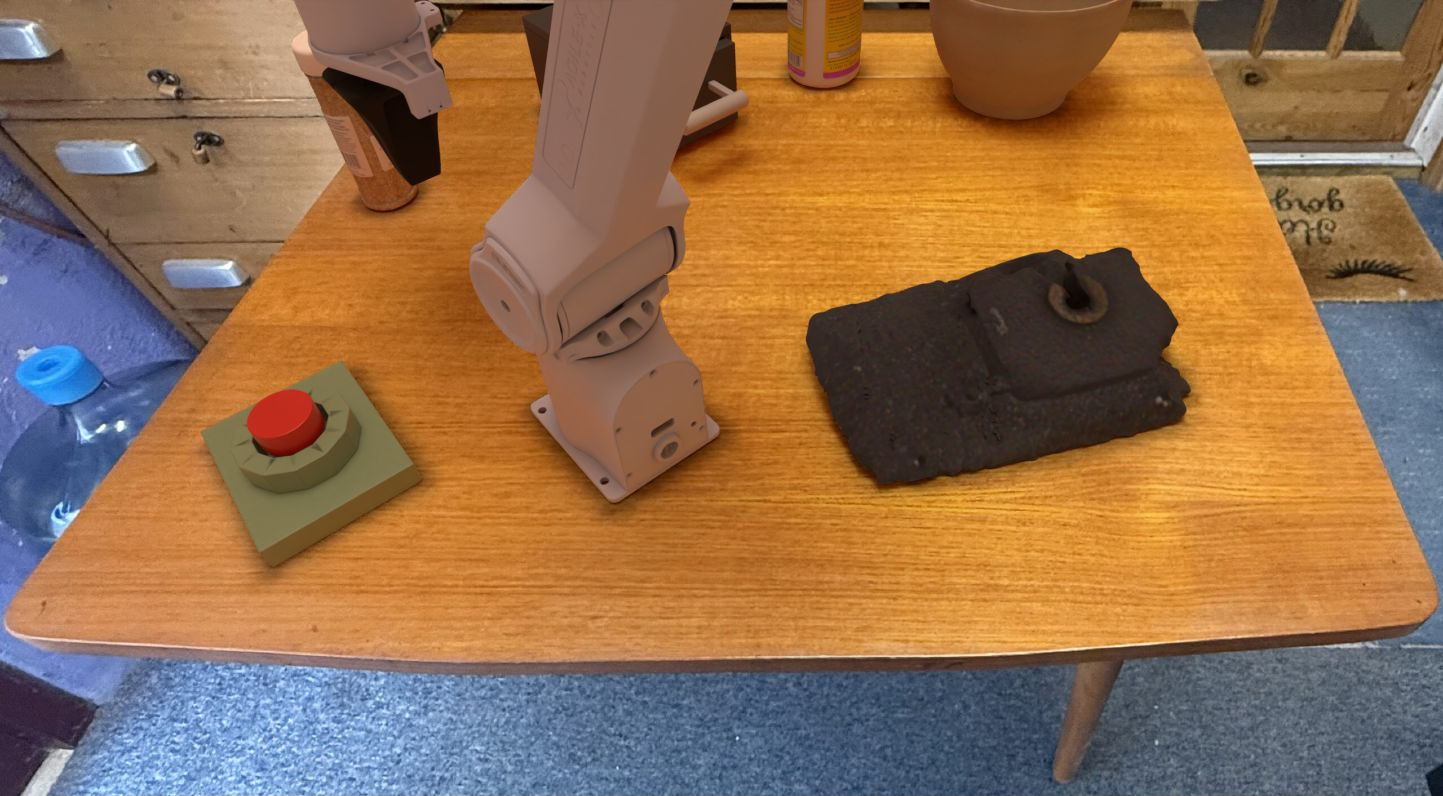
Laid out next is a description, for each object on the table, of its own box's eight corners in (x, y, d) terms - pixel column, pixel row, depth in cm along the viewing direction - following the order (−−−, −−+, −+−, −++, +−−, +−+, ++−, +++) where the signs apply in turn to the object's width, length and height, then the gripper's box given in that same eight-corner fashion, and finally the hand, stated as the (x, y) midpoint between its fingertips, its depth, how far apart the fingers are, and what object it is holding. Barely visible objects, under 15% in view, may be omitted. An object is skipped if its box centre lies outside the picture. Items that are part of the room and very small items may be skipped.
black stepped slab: (782, 321, 56) (782, 267, 52) (1079, 256, 59) (1098, 200, 55) (863, 504, 46) (870, 452, 43) (1216, 415, 49) (1250, 359, 45)
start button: (334, 434, 48) (322, 415, 46) (273, 467, 46) (258, 448, 45) (312, 398, 49) (299, 379, 48) (252, 429, 48) (237, 410, 47)
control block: (423, 480, 49) (402, 444, 46) (273, 568, 45) (241, 534, 43) (351, 377, 55) (329, 339, 52) (214, 448, 51) (183, 412, 49)
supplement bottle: (868, 61, 78) (880, -87, 69) (846, 96, 75) (855, -56, 65) (801, 51, 80) (804, -95, 71) (776, 84, 77) (775, -65, 67)
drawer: (770, 139, 69) (769, 60, 64) (670, 190, 65) (660, 110, 60) (654, 68, 78) (645, -6, 73) (560, 108, 74) (543, 34, 69)
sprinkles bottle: (426, 199, 68) (364, 37, 57) (372, 220, 66) (298, 58, 56) (408, 173, 70) (344, 14, 60) (355, 193, 69) (281, 33, 59)
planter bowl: (1084, 49, 78) (1120, -77, 69) (1120, 145, 67) (1167, 10, 59) (910, 50, 79) (925, -73, 71) (918, 143, 69) (936, 12, 61)
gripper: (472, -42, 39) (537, 200, 49) (352, -116, 46) (430, 107, 57) (327, 6, 36) (427, 252, 46) (226, -80, 44) (331, 146, 54)
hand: (422, 175), depth 51 cm, fingers closed
